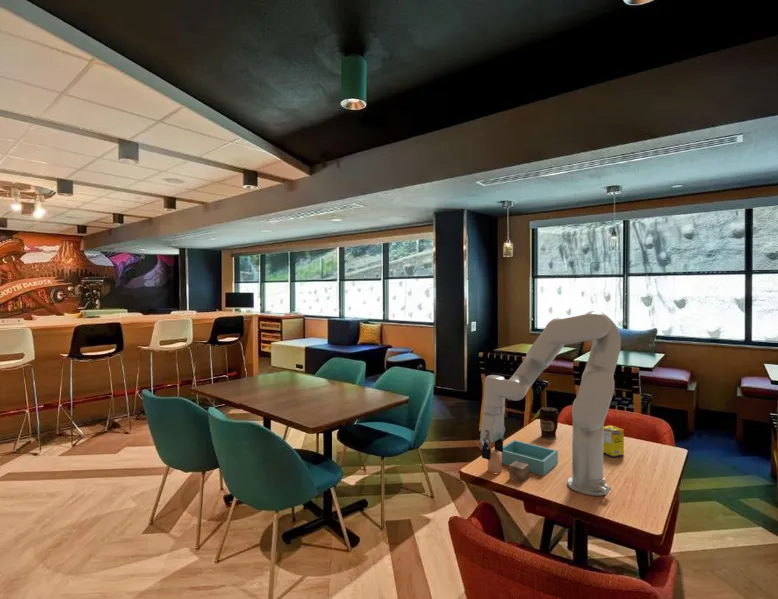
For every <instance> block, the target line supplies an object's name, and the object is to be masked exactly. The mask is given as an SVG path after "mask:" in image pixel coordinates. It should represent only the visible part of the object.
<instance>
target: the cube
mask: <svg viewBox="0 0 778 599" xmlns="http://www.w3.org/2000/svg"><path fill="white" fill-rule="evenodd" d="M508 466H509V471H508V472H509V478H510V479H509V480H511V479H513V480H512V481H515V480H516V481H515V482H518V481H519V482H518V483H521V482H524V481H525V480H526V481H527V480H528V479H529V478H530V474H529V472H530V471H529V465H528V464H525V463H521V462H518V461H515V462H513V463H512V464H510V465H508ZM526 481H525V482H526ZM525 482H524V483H525Z"/></svg>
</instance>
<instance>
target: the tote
mask: <svg viewBox="0 0 778 599" xmlns="http://www.w3.org/2000/svg"><path fill="white" fill-rule="evenodd" d="M558 455H559V451H558V450H555V449H553V448H548V447H544V446H540V445H536V444H532V443H528V442H525V441H519V440H516V439H513V440H511V441H510V442H508V443H507V444H505V445H503V452H502V463H503V464H502V465H506V466H509V465H510V464H512V463H513V462H515V461H518V462H521V463H525V464H528V465H529V472H530V473H533V474H536V473H537V475H540V476H543V475H544V476H546V475H547V474H548V473H549V472H550V471H552V469H553V468H554V467H556V466H557V465H558V463H559V456H558ZM555 465H556V466H555Z"/></svg>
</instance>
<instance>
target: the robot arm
mask: <svg viewBox="0 0 778 599" xmlns="http://www.w3.org/2000/svg"><path fill="white" fill-rule="evenodd" d="M588 341H591V343H592V344H591V347H590V351H589V355H588V359H587V363H586V365H585V367H584V371H583V372H582V375H581V381H580V385H579V389H578V392H577V394H576V398H575V399H574V400H573V401H572V407H571V408H572V412H571V416H572V449H571V451H572V454H571V455H572V456H571V458H572V461H571V464H572V467H571V468H572V469H571V470H572V474H571V477H568V479H567V481H566V482H567V483H566V484H567V486H568V487H569V488H570V489H571V490H572V491H574V492H576V493H579V494H582V495H585V496H593V497H594V496H604V495H605V496H606V495H608V494H609V492H611V490H612V487H611V486H609V485H607V483H606V478H605V477H604V454H603V444H604V424H605V421H606V419H607V415H608V412H609V409H610V406H611V402H612V399H613V396H614V393H615V392H614V391H615V386H616V384H615V378H614V377H615V376H614V375H615V372H616V368H617V365H618V360H619V356H620V353H621V352H620V351H621V347H622V339H621V335H620V331H619V329H618V327H617V325H616V323H614V321H613V320H612V319H611V318H610V317H609V316H608V315H607V314H605V313H603V312H602V311H599V310H591V311H589V312H587V313H585V314H581V315H576V316H571V317H570V316H569V317H565V318H559V317H556V318H553V319H551V320H550V321H549V322H548V323H547V324H546V325H545V328H544V329H543V330H542V332H540V334H539V335H538V337H537V339H536V340H535V341H534V342H533V344H532V345H531V346H530V348H529V349H528V351H527V353H526V356H525V358H524V359H523V361H522V362H521V363H520V365H519V366H518V368H517V369H516V371H515V372H514V373H513V375H512V376H511V377H510V378H509V379H506V378H505V377H504V376H502V375H496V374H490V375H486V376H485V378H484V390H483V391H484V394H483V396H484V397H483V415H482V420H481V426H480V438H479V440H480V445H481V446H480V447H481V458H482V459H485V460H487V461H488V460H490V455H491V450H492V448H491V446H492V443H494V449H493V450H498V451H500V452H503V446H504V440H505V438H504V437H505V432H506V426H505V415H506V414H505V413H506V412H505V411H506V410H505V409H506V399H507V400H510V401H515V402H516V401H517V402H518V401H521V400H523V399H524V398H525V396H526V394H527V393H528V392H529V390H530V388H531V387H532V386H533V384H534V383H535V382H536V380H537V379H538V377H539V376H540V375H541V373H543V371H545V370H546V369H548V367H550V365H551V364H552V363H553V361H554V360H555V358H556V357H557V356H558V355H559V353H560V352H561V350H562V349H563V348H564V346H565V345H571V344H572V345H573V344H577V343H582V342H583V343H584V342H588Z"/></svg>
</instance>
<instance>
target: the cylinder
mask: <svg viewBox="0 0 778 599" xmlns="http://www.w3.org/2000/svg"><path fill="white" fill-rule="evenodd" d="M502 465H503V464H502V452H500V451H498V450H494V449H491V455H490V460H487V472H488V471H489V472H488V473H490V472H491V473H490V474H492V473H500V474H502V472H503V471H502V469H503V466H502Z"/></svg>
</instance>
